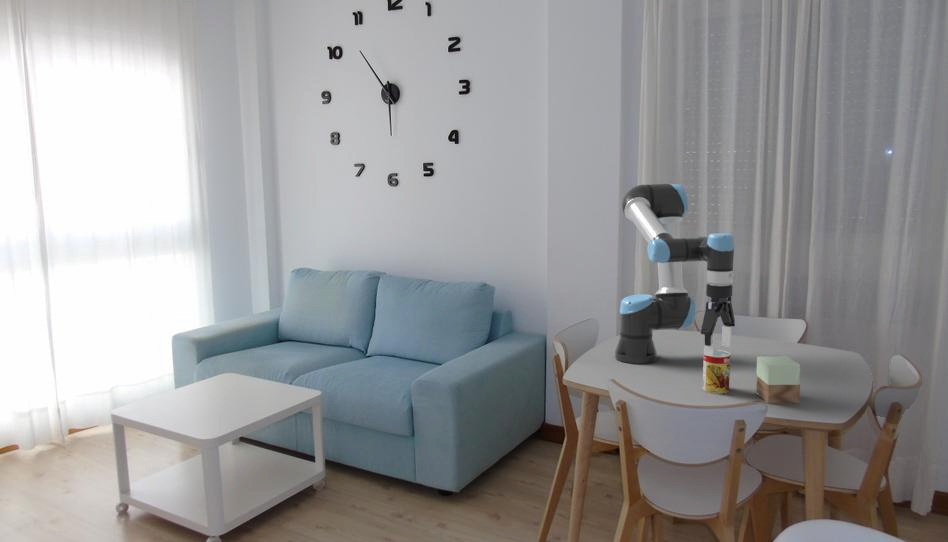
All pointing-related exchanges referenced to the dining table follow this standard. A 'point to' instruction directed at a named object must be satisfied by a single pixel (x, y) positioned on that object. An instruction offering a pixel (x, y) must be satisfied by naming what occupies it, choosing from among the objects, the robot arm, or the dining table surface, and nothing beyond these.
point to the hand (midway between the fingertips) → (717, 350)
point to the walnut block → (778, 392)
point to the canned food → (716, 372)
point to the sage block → (778, 370)
